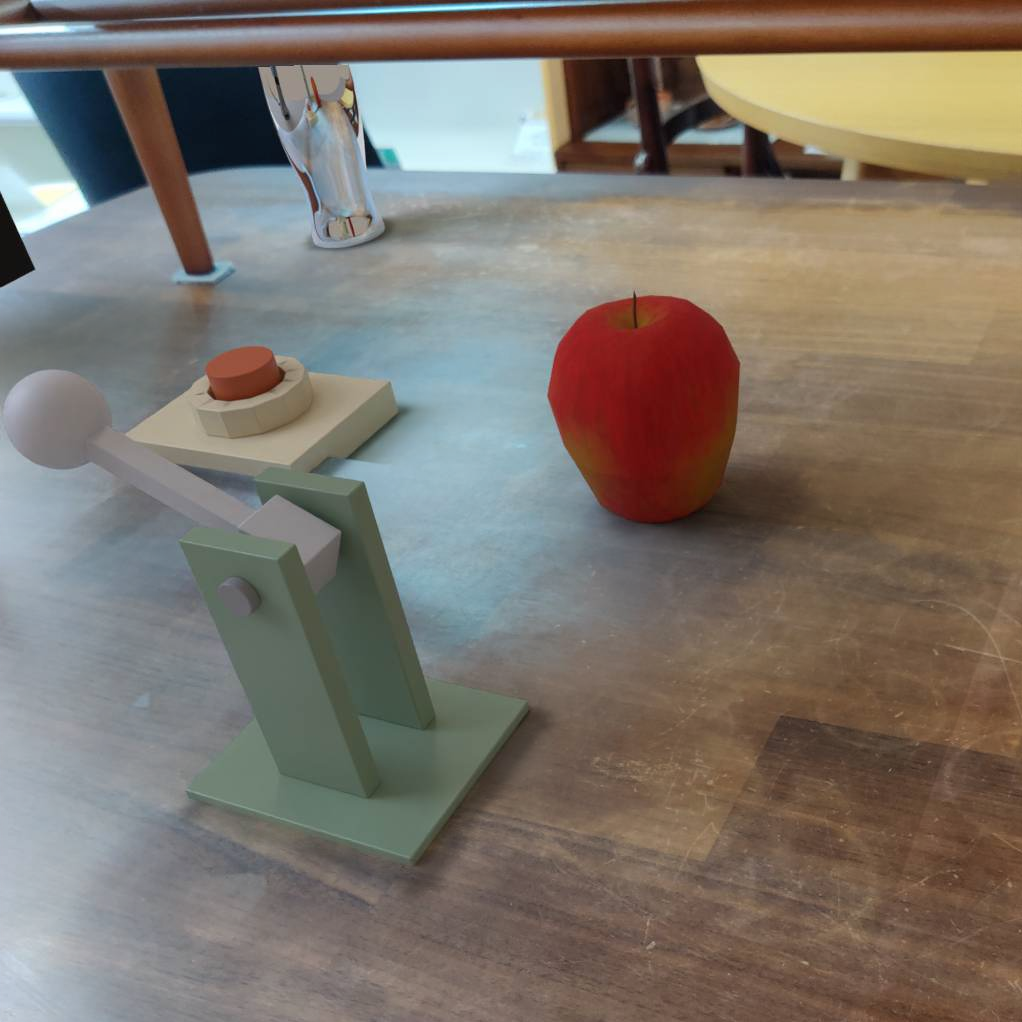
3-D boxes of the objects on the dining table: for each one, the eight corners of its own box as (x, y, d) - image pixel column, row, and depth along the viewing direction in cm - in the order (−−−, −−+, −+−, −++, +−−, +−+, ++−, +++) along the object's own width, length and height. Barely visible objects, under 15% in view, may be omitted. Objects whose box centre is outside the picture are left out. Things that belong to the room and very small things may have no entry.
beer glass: (362, 214, 105) (312, 26, 95) (406, 229, 100) (358, 34, 91) (293, 241, 101) (234, 49, 92) (335, 257, 97) (278, 58, 88)
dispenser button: (201, 400, 71) (190, 373, 70) (244, 369, 74) (234, 343, 73) (253, 407, 69) (243, 380, 68) (295, 375, 72) (286, 348, 71)
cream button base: (132, 469, 73) (106, 410, 70) (238, 392, 80) (217, 335, 77) (301, 498, 68) (280, 436, 65) (399, 412, 75) (383, 353, 72)
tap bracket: (195, 813, 49) (64, 558, 41) (326, 674, 55) (234, 428, 47) (419, 883, 45) (322, 613, 37) (534, 724, 51) (472, 463, 43)
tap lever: (-14, 457, 44) (-28, 381, 42) (58, 410, 47) (50, 335, 44) (287, 633, 43) (293, 565, 40) (345, 575, 45) (355, 508, 43)
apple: (749, 459, 65) (734, 243, 58) (750, 554, 58) (733, 323, 51) (581, 470, 66) (544, 260, 59) (562, 566, 60) (518, 341, 52)
